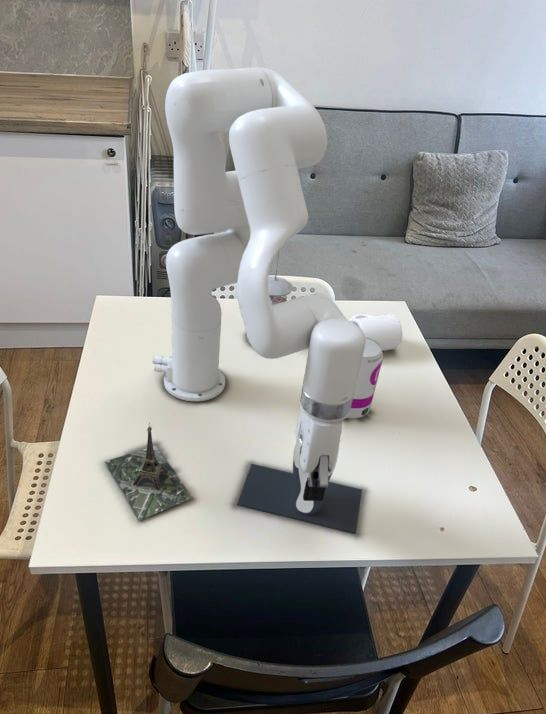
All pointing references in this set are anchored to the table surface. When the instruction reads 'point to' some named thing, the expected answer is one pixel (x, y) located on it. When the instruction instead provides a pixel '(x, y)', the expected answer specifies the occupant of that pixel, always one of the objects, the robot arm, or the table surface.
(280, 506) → the mat
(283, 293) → the french press
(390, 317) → the mug
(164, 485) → the eiffel tower figurine
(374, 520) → the table surface
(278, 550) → the table surface
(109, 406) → the table surface
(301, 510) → the beer glass
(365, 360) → the supplement can
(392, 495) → the table surface
